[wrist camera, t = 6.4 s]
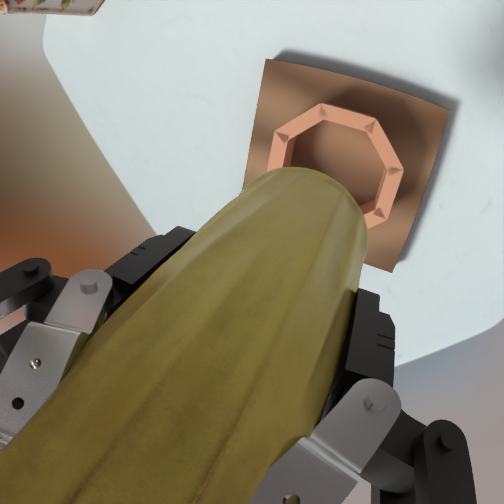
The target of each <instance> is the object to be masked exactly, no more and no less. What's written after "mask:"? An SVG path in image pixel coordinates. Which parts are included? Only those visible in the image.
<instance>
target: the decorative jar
mask: <svg viewBox="0 0 504 504" xmlns="http://www.w3.org/2000/svg"><path fill="white" fill-rule="evenodd" d="M102 2H103V0H0V11H1V12H3V14H13V13H14V14H15V13H16V14H18V13H30V14H31V13H32V14H59V15H77V16H92V15H94V13H95V12H96V10H97V9H98V7H99V6H100V4H101V3H102Z"/></svg>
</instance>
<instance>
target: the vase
mask: <svg viewBox="0 0 504 504" xmlns="http://www.w3.org/2000/svg"><path fill="white" fill-rule="evenodd" d="M367 248H368V231H367V224H366V221H365V217H364V215H363V213H362V211H361V209H360V208H359V206H358V204H357V203H356V201H355V200H354V198H353V197H352V195H351V194H350V193H349V191H348V190H347V189H346V188H345V187H344V186H343V185H341V184H340V183H339V182H337V181H336V180H334V179H333V178H331V177H329V176H328V175H326V174H324V173H321V172H319V171H316V170H312V169H308V168H302V167H282V168H277V169H273V170H270V171H268V172H265V173H264V174H262V175H260V176H258V177H257V178H255V179H254V180H252V181H251V182H250V183H248V184H247V185H246V186H245V187H244V189H243V190H242V191H241V193H240V194H239V196H238V197H237V198H235V199H234V200H232V201H231V202H230V203H228V204H227V205H226V206H225V207H223V208H222V209H221V210H220V211H219V212H217V213H216V214H215V215H214V216H213V217H212V218H211V219H210V220H209V221H208V222H207V223H206V224H205V225H204V226H202V227H201V228H200V229H199V230H198V231H197V232H196V233H195V234H194V235H193V236H192V237H191V239H190V240H189V241H188V242H187V243H186V244H185V245H184V246H183V247H182V248H181V249H180V250H179V251H177V252H176V253H175V254H174V255H173V256H171V257H170V258H169V259H168V260H167V261H166V262H164V263H163V264H162V265H161V266H160V267H159V268H158V269H157V270H156V271H155V272H154V273H153V274H152V275H151V276H150V277H149V278H148V279H147V280H146V281H145V282H144V283H143V284H142V285H141V286H140V287H139V288H138V289H137V290H136V291H135V292H134V293H133V294H132V295H131V296H130V297H129V298H128V299H127V300H126V301H125V302H124V303H123V304H122V305H121V306H120V307H119V308H118V309H117V310H116V311H115V312H114V313H113V314H112V315H111V317H110V318H109V319H108V320H107V321H106V322H105V323H104V324H103V325H102V326H101V328H100V329H99V330H98V331H97V332H96V333H95V334H94V335H93V336H92V337H91V338H90V340H89V341H88V342H87V343H86V344H85V346H84V347H83V348H82V350H81V352H80V353H79V355H78V357H77V359H76V360H75V362H74V364H73V365H72V367H71V368H70V370H69V372H68V373H67V374H66V376H65V377H64V378H63V380H62V381H61V382H60V384H59V385H58V387H57V388H56V389H55V390H54V391H53V392H52V394H51V395H50V396H49V397H48V398H47V400H46V401H45V402H44V403H43V405H42V406H41V407H40V408H39V409H38V410H37V412H36V413H35V414H34V415H33V416H32V417H31V418H30V419H29V421H28V422H27V423H26V424H25V425H24V426H23V427H22V429H21V430H20V431H19V432H18V433H17V434H16V435H15V436H14V437H13V438H12V440H11V441H10V442H9V443H8V444H7V445H6V446H5V447H4V448H3V449H2V450H1V451H0V504H248V503H249V502H250V500H251V498H252V497H253V495H254V493H255V491H256V489H257V487H258V485H259V484H260V482H261V480H262V479H263V477H264V475H265V473H266V471H267V470H268V469H269V468H270V467H271V466H272V465H273V464H274V463H276V462H277V461H278V460H279V459H280V458H281V457H282V456H283V455H284V454H285V453H286V452H287V451H288V450H290V449H291V448H292V447H293V446H294V445H295V444H296V443H297V442H298V441H299V440H300V439H301V438H302V437H304V436H305V435H307V436H308V437H310V436H311V434H312V431H313V430H314V428H315V427H316V426H317V425H318V424H319V423H320V422H321V419H322V415H323V412H324V409H325V405H326V402H327V398H328V395H329V392H330V388H331V385H332V382H333V379H334V376H335V372H336V369H337V366H338V362H339V359H340V355H341V352H342V348H343V345H344V342H345V339H346V335H347V331H348V327H349V322H350V318H351V313H352V309H353V303H354V298H355V292H356V290H357V289H358V286H359V280H360V274H361V269H362V265H363V262H364V260H365V258H366V255H367ZM286 500H287V499H283V504H288V503H286Z"/></svg>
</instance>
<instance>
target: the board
mask: <svg viewBox="0 0 504 504" xmlns="http://www.w3.org/2000/svg"><path fill="white" fill-rule="evenodd" d="M320 103H329V104H333V105H336V106H340V107H344V108H347V109H351V110H354V111H358V112H361V113H364V114H368V115H371V116H374V117H376V118H377V120H378V122H379V123H380V125H381V127H382V129H383V130H384V132H385V134H386V136H387V137H388V139H389V141H390V143H391V145H392V147H393V149H394V150H395V152H396V154H397V156H398V158H399V160H400V162H401V164H402V167H403V170H404V171H403V175H402V178H401V181H400V184H399V187H398V190H397V193H396V196H395V199H394V202H393V205H392V208H391V210H390V213H389V216H388V219H386V221H384V222H382V223H380V224H377V225H375V226H373V227H371V228H369V229H367V231H368V248H367V255H366V258H365V260H364V262H363V263H365V264H368V265H370V266H373V267H376V268H379V269H382V270H385V271H388V272H390V273H392V272H393V269H394V267H395V265H396V263H397V260H398V258H399V256H400V253H401V251H402V249H403V246H404V244H405V241H406V239H407V236H408V234H409V231H410V229H411V226H412V224H413V221H414V219H415V216H416V213H417V211H418V208H419V205H420V203H421V200H422V197H423V194H424V191H425V189H426V186H427V183H428V180H429V177H430V174H431V171H432V168H433V165H434V162H435V158H436V155H437V152H438V149H439V145H440V142H441V138H442V135H443V131H444V128H445V124H446V120H447V117H448V113H449V110H448V109H445V108H443V107H440V106H438V105H436V104H433V103H430V102H428V101H425V100H423V99H420V98H417V97H415V96H412V95H409V94H406V93H403V92H400V91H397V90H394V89H391V88H388V87H385V86H382V85H379V84H375V83H372V82H369V81H365V80H362V79H358V78H355V77H351V76H347V75H343V74H339V73H335V72H331V71H327V70H323V69H318V68H314V67H309V66H304V65H299V64H294V63H289V62H283V61H277V60H271V59H266V61H265V66H264V71H263V77H262V82H261V87H260V93H259V98H258V104H257V109H256V115H255V120H254V126H253V131H252V137H251V143H250V148H249V154H248V160H247V166H246V171H245V177H244V183H243V189H244V187H245V186H246V185H247V184H248V183H250V182H251V181H252V180H254V179H255V178H257V177H258V176H260V175H262V174H264V173H265V172H267V167H268V162H269V157H270V152H271V147H272V141H273V136H274V132H275V130H277V129H278V128H280V127H282V126H283V125H285V124H287V123H288V122H290V121H291V120H293V119H295V118H296V117H298V116H300V115H301V114H303V113H305V112H306V111H308V110H310V109H311V108H313V107H315V106H316V105H318V104H320ZM290 167H302V168H308V169H312V170H316V171H319V172H321V173H324V174H326V175H328V176H329V177H331V178H333V179H334V180H336V181H337V182H339V183H340V184H341V185H343V186H344V187H345V188H346V189H347V190H348V191H349V193H350V194H351V195H352V197H353V198H354V200H355V201H356V203H357V204H358V206H361V205H363V204H365V203H367V202H369V201H371V200H373V199H375V197H376V194H377V191H378V188H379V185H380V182H381V179H382V175H383V172H384V169H385V165H384V163H383V161H382V159H381V157H380V156H379V154H378V152H377V150H376V148H375V146H374V145H373V143H372V141H371V139H370V138H369V136H368V134H367V132H365V131H362V130H358V129H355V128H352V127H348V126H345V125H342V124H338V123H335V122H331V121H327V120H324V121H322V122H320V123H318V124H317V125H315V126H313V127H312V128H310V129H308V130H306V131H305V132H303V133H301V134H300V135H298V136H296V141H295V146H294V150H293V155H292V159H291V164H290ZM243 189H242V190H243Z"/></svg>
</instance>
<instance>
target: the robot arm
mask: <svg viewBox="0 0 504 504" xmlns="http://www.w3.org/2000/svg"><path fill="white" fill-rule="evenodd" d="M195 233H196V232H195V231H192V230H189V229H186V228H183V227H180V226H177V227H175V228H174V229H172V230H171V231H170V232H168V233H167V234H166V235H158V236H155V237H152V238H149V239H147V240H146V241H144V242H143V243H141V244H140V245H139V246H138V247H136V248H135V249H133V250H132V251H131V252H130V253H128V254H126V255H125V256H123V257H122V258H121V259H120V260H118V261H117V262H116V263H114V264H113V265H111V266H110V267H109V268H108V269H106V270H105V271H100V270H94V269H91V270H84V271H81V272H78V273H76V274H75V275H73V276H72V277H71V278H70V279H68V278H63V277H59V276H54V275H53V274H52V269H51V265H50V263H49V262H48V261H47V260H45V259H43V258H31V259H27V260H24V261H22V262H20V263H18V264H16V265H14V266H12V267H10V268H8V269H6V270H4V271H2V272H0V319H1V318H3V317H5V316H7V315H8V314H10V313H12V312H13V311H15V310H17V309H19V308H20V307H22V309H23V311H24V315H25V317H26V320H24V321H23V322H21V323H19V324H18V325H16V326H14V327H13V328H11V329H10V330H8V331H6V332H5V333H3V334H1V335H0V451H1V450H2V449H3V448H4V447H5V446H6V445H7V444H8V443H9V442H10V441H11V440H12V438H13V437H14V436H15V435H16V434H17V433H18V432H19V431H20V430H21V429H22V427H23V426H24V425H25V424H26V423H27V422H28V421H29V419H30V418H31V417H32V416H33V415H34V414H35V413H36V412H37V410H38V409H39V408H40V407H41V406H42V405H43V403H44V402H45V401H46V400H47V398H48V397H49V396H50V395H51V394H52V392H53V391H54V390H55V389H56V388H57V387H58V385H59V384H60V382H61V381H62V380H63V378H64V377H65V376H66V374H67V373H68V372H69V370H70V368H71V367H72V365H73V364H74V362H75V360H76V359H77V357H78V355H79V353H80V352H81V350H82V348H83V347H84V346H85V344H86V343H87V342H88V341H89V340H90V338H91V337H92V336H93V335H94V334H95V333H96V332H97V331H98V330H99V329H100V328H101V326H102V325H103V324H104V323H105V322H106V321H107V320H108V319H109V318H110V317H111V315H112V314H113V313H114V312H115V311H116V310H117V309H118V308H119V307H120V306H121V305H122V304H123V303H124V302H125V301H126V300H127V299H128V298H129V297H130V296H131V295H132V294H133V293H134V292H135V291H136V290H137V289H138V288H139V287H140V286H141V285H142V284H143V283H144V282H145V281H146V280H147V279H148V278H149V277H150V276H151V275H152V274H153V273H154V272H155V271H156V270H157V269H158V268H159V267H160V266H161V265H162V264H163V263H164V262H166V261H167V260H168V259H169V258H170V257H171V256H173V255H174V254H175V253H176V252H177V251H179V250H180V249H181V248H182V247H183V246H184V245H185V244H186V243H187V242H188V241H189V240H190V239H191V237H192V236H193V235H194V234H195ZM379 301H380V296H379V295H378V294H375V293H372V292H369V291H367V290H364V289H361V288H358V289H357V290H356V292H355V298H354V303H353V309H352V313H351V318H350V322H349V327H348V331H347V335H346V339H345V342H344V345H343V348H342V352H341V355H340V359H339V362H338V366H337V369H336V372H335V376H334V379H333V382H332V385H331V388H330V392H329V395H328V398H327V402H326V405H325V409H324V412H323V415H322V419H321V422H320V423H319V424H318V425H317V426H316V427H315V428H314V430H313V431H312V434H311V436H310V437H308V436H307V435H305V436H304V437H302V438H301V439H300V440H299V441H298V442H297V443H296V444H295V445H294V446H293V447H292V448H291V449H290V450H288V451H287V452H286V453H285V454H284V455H283V456H282V457H281V458H280V459H279V460H278V461H277V462H276V463H274V464H273V465H272V466H271V467H270V468H269V469H268V470H267V471H266V473H265V475H264V477H263V479H262V480H261V482H260V484H259V485H258V487H257V489H256V491H255V493H254V495H253V497H252V498H251V500H250V502H249V503H248V504H283V499H287V500H286V503H288V504H341V503H342V502H343V501H344V500H345V498H346V497H347V496H348V495H349V494H350V492H351V491H352V490H353V488H354V487H355V486H356V484H357V483H358V481H359V480H360V478H363V479H364V480H366V481H368V482H369V483H371V504H477V502H476V494H475V486H474V480H473V473H472V467H471V461H470V456H469V451H468V446H467V441H466V438H465V436H464V434H463V432H462V431H461V429H460V428H459V427H458V426H457V425H455V424H454V423H452V422H450V421H447V420H436V421H434V422H432V423H430V424H429V425H428V426H425V425H424V424H422V423H420V422H419V421H417V420H415V419H414V418H412V417H410V416H409V415H407V414H406V413H405V412H404V411H403V410H402V409H401V401H400V398H399V396H398V394H397V392H396V391H395V390H394V389H393V380H394V358H395V351H394V349H395V341H394V340H395V326H394V324H393V321H392V319H391V317H390V315H388V314H385V313H382V312H380V311H379Z"/></svg>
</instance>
